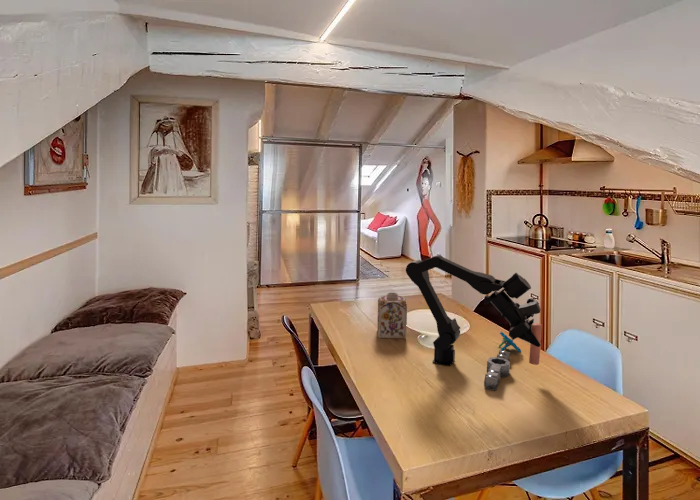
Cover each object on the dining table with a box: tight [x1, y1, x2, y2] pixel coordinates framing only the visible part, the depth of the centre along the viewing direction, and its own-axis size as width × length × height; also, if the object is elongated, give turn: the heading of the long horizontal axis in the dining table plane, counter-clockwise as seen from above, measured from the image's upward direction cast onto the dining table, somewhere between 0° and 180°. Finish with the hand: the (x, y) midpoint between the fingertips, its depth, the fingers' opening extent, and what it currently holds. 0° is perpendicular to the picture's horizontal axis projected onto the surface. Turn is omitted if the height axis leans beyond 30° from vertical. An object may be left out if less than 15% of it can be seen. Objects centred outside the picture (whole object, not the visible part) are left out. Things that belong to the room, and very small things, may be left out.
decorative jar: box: [377, 292, 408, 339], centre depth 182 cm, size 12×12×18 cm
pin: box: [528, 323, 543, 366], centre depth 139 cm, size 3×3×13 cm
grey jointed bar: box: [483, 349, 511, 392], centre depth 145 cm, size 7×30×4 cm, turn 152°
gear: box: [498, 331, 522, 353], centre depth 165 cm, size 11×6×10 cm
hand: (540, 344), depth 138 cm, fingers closed on pin, 3 cm apart
